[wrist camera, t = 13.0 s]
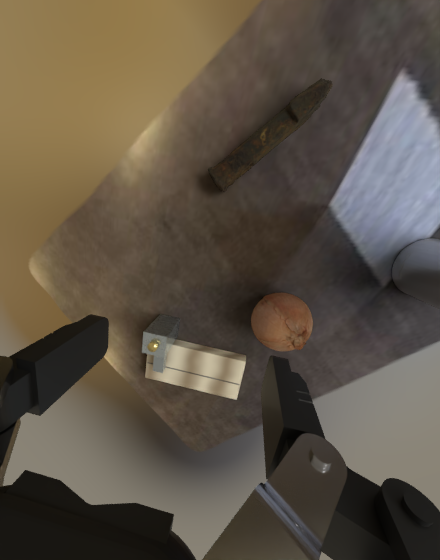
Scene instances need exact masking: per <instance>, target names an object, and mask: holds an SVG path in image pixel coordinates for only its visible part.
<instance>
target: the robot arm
mask: <svg viewBox="0 0 440 560" xmlns="http://www.w3.org/2000/svg"><path fill="white" fill-rule="evenodd" d="M392 278H393V281H394V283H395V285H396V286H397V288H398V289H399V290H401V291H402V292H404V293H406V294H408V295H410V296H412V297H414V298H416V299H419V300H421V301H423V302H425V303H427V304H429V305H431V306H433V307H435V308H438V309H440V239H437V238H428V239H423V240H419V241H417V242H414V243H412V244H410V245H409V246H407V247H406V248H405V249H404V250H402V251H401V253H400V254H399V255H398V256H397V258H396V260H395V262H394V264H393V267H392ZM108 327H109V322H108V319H107V318H105V317H101V316H96V315H88V316H86V317H85V318H83V319H81V320H80V321H78V322H75V323H72V324H69V325H65V326H63V327H61V328H59V329H58V330H56V331H54V332H53V333H51V334H49V335H47V336H45V337H44V339H43V338H42V339H40V340H38V341H36V342H35V343H33V344H31V345H29V346H28V347H26V348H24V349H22V350H20V351H19V352H17V353H15V354H13V355H12V356H10V357H6V356H0V560H196V559H195V557H194V555H193V554H192V552H191V551H190V549H189V548H188V546H187V545H186V544H185V543H184V542H183V541H182V540H181V539H180V537H179V536H178V535H176V534H175V533H174V532H173V531H171V529H172V523H173V516H174V514H171V513H168V512H164V511H161V510H157V509H154V508H151V507H148V506H144V505H141V504H138V503H127V504H126V503H125V504H105V505H90V504H88V503H86V502H85V501H84V500H83V499H82V498H80V497H79V496H78V495H77V494H76V493H74V492H73V491H72V490H71V489H70V488H69V487H67V486H66V485H65V484H64V483H63V482H62V481H60V480H57V479H54V478H51V477H47V476H44V475H41V474H37V473H34V472H30V471H27V470H25V471H24V472H23V473H22V474H21V476H20V477H19V478H18V479H17V480H16V481H15V482H14V483H13V484H12V485H7V486H3V481H4V476H5V473H6V469H7V466H8V463H9V460H10V456H11V453H12V450H13V447H14V444H15V440H16V437H17V434H18V431H19V427H20V423H21V421H20V417H21V416H23V415H24V414H25V413H26V412H28V413H32V414H35V415H39V416H40V415H41V414H43V413H44V412H45V411H46V410H47V409H48V408H49V407H50V406H51V405H52V404H53V403H54V402H56V401H57V400H58V399H59V398H60V397H61V396H62V395H63V394H64V393H65V392H66V391H67V390H68V389H69V388H71V387H72V386H73V385H74V384H75V383H76V382H77V381H78V380H79V379H80V378H81V377H83V375H85V374H86V373H87V372H88V371H89V370H90V369H91V368H92V367H93V366H94V365H95V364H96V363H97V362H98V361H100V359H102V358H103V357H104V355H105V353H106V351H107V348H108ZM309 394H310V393H309V390H308V387H307V384H306V382H305V381H304V380H303V379H302V377H301V376H300V375H299V374H298V373H294V372H291V369H290V365H289V361H288V359H285V358H280V357H276V356H270V358H269V361H268V365H267V369H266V372H265V376H264V380H263V384H262V390H261V403H262V419H263V435H264V451H265V466H266V479H268V481H267V482H266V483H265V484H263V483H260V484H259V485H258V486H257V487H256V488H255V489H254V490H253V492H252V493H251V494H250V496H249V497H248V498H247V500H246V501H245V503H244V504H243V505H242V507H241V508H240V509H239V511H238V512H237V513H236V515H235V516H234V517H233V519H232V520H231V521H230V523H229V524H228V525H227V527H226V528H225V529H224V531H223V532H222V533H221V535H220V536H219V537H218V539H217V540H216V541H215V543H214V544H213V546H212V547H211V548H210V550H209V551H208V552H207V554H206V555H205V556H204V558H203V559H202V560H319V558H320V555H321V551H322V552H323V553H325V554H326V555H327V556H329V557H330V558H331V559H333V560H440V512H439V510H438V509H437V508H436V506H435V505H434V504H433V503H432V502H431V501H430V500H429V499H428V498H427V497H426V496H425V495H423V494H422V493H421V492H420V491H418V490H417V489H416V488H414V487H413V486H411V485H410V484H408V483H406V482H404V481H401V480H399V479H395V478H389V479H386V480H385V481H384V482H383V484H382V486H381V487H380V486H378V485H377V484H375V483H373V482H371V481H370V480H368V479H366V478H364V477H362V476H361V475H359V474H357V473H355V472H354V471H352V470H351V469H349V468H348V467H347V466H346V464H345V462H344V460H343V458H342V457H341V455H340V453H339V452H338V451H337V450H336V448H335V447H334V446H333V445H332V444H331V443H329V442H328V441H327V440H326V439H325V436H324V433H323V430H322V428H321V425H320V422H319V419H318V416H317V413H316V411H315V408H314V405H313V404H312V399H311V396H310V395H309Z"/></svg>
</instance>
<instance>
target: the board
mask: <svg viewBox="0 0 440 560" xmlns="http://www.w3.org/2000/svg"><path fill="white" fill-rule="evenodd" d="M153 361H154V355H150V354H147V363H146V375H145V377H146V378H150V379H154V380H158V381H162V382H166V383H170V384H174V385H178V386H182V387H186V388H190V389H195V390H199V391H203V392H207V393H211V394H215V395H219V396H223V397H227V398H231V399H235V400H237V396H238V392H239V388H240V384H241V380H242V376H243V372H244V368H245V364H246V355H242V354H238V353H234V352H229V351H225V350H220V349H216V348H212V347H207V346H203V345H199V344H194V343H190V342H186V341H181V340H177V339H176V340H175V342H174V343H173V345H172V346H171V348H170V350H169V351H168V353H167V359H166V367H165V370H164V372H163V373H160V372H155V371H153Z"/></svg>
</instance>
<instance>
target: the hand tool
mask: <svg viewBox="0 0 440 560" xmlns="http://www.w3.org/2000/svg"><path fill="white" fill-rule="evenodd" d="M331 87H332V82H331V81H329V80H325V79H322V78H321V79H320V80H318V81H317V82H316V83H314V84H313V85H311V86H310V87H308V88H307V89H306V90H305V91H303V92H302V93H300V94H299V95H297V96H296V97H295V98H294V99H293V100H292V101H291V102H290V103H289V105H288V106H287V107H286V108H284V109H283V110H282V111H281V112H280V113H279V114H278V115H276V116H275V117H274V118H273V119H272V120H271V121H269V122H268V123H267V124H266V125H264V126H263V127H262V128H261V129H259V130H258V131H257V132H256V133H254V134H253V135H252V136H251V137H250V138H248V139H247V140H246V141H245V142H244V143H243V144H241V145H240V146H239V147H238V148H237V149H235V150H234V151H233V152H232V153H231V154H230V155H228V156H227V157H226V158H225V159H224V160H223V161H222V162H220V163H219V164H218V165H217V166H215V167H214V168H209V169H208V171H209V173H210V175H211V178H212V179H213V181H214V182H215V184H216V186H217V187H218V188H219V189H220V190H221V191H223V192H225V191H226V189H227V187H228V186H229V185H232V184H233V183H234V181H235V180H236V179H238V178H239V177H240V176H241V175H243V174H244V173H245V172H246V171H248V170H249V169H251V166H254V165H255V164H256V163H257V162H258V161H259V160H260V159H261V158H263V157H264V156H265V155H266V154H267V153H269V152H270V151H271V150H272V149H273V148H274V147H276V146H277V145H278V144H279V143H281V142H282V141H283V140H284V139H285V138H286V137H288V136H289V135H290V134H291V133H292V132H294V131H296V130H297V129H298V128H299V127H300V126H301V125H302V124H304V123H305V122H306V121H307V120H308V119H309V118H310V116H311V115H312V114H313V113H314V111H316V110H317V109H318V108H319V107H320V104H321V102H322V101H323V100H324V99H325V98H326V96H327V94H328V92H329V91H330V89H331Z"/></svg>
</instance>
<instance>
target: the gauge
mask: <svg viewBox="0 0 440 560" xmlns="http://www.w3.org/2000/svg"><path fill="white" fill-rule="evenodd" d="M179 323H180V318H176V317H172V316H167V315H162V314H160V315H159V316H158V317H157V318H156V319H155V320H154V321H153V322H152V323H151V324H150V325H149V327H148V328H147V329H146V330H145V331H144V332H143V344H142V353H146V354H150V355H154V361H153V371H155V372H160V373H163V372H164V370H165V367H166V359H167V353H168V351H169V350H170V348H171V346H172V345H173V343H174V342H175V340H176V338H177V337H178V330H179Z"/></svg>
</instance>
